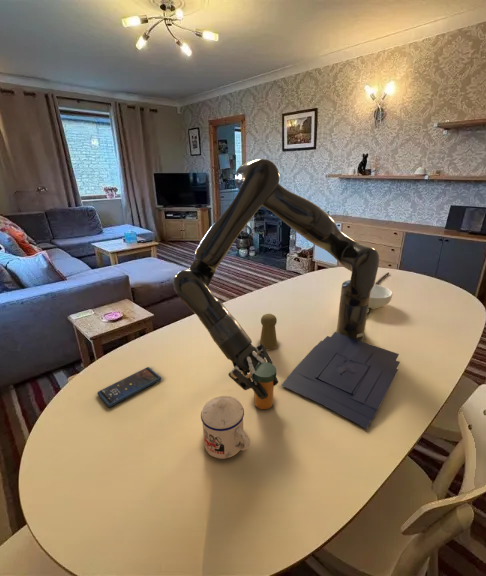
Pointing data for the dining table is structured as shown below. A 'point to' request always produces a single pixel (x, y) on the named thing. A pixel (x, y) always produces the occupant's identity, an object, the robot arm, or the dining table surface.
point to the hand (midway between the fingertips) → (270, 390)
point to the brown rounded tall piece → (268, 331)
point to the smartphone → (128, 386)
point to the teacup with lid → (224, 427)
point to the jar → (267, 401)
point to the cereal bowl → (379, 296)
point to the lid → (265, 372)
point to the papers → (345, 376)
